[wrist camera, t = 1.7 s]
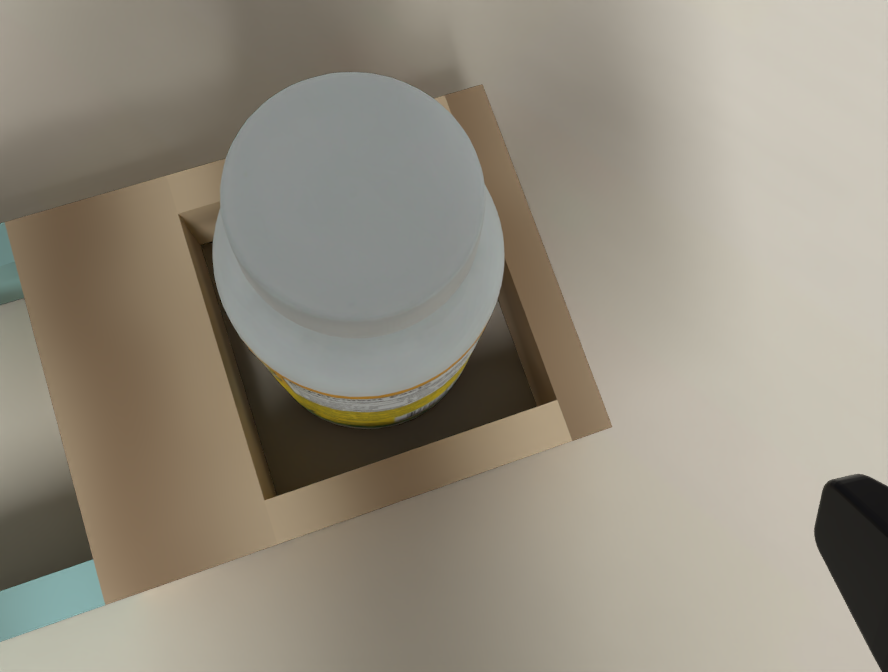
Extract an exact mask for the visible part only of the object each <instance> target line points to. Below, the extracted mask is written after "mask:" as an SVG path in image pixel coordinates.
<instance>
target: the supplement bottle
mask: <svg viewBox="0 0 888 672" xmlns="http://www.w3.org/2000/svg"><path fill="white" fill-rule="evenodd" d="M213 268H214V276H215V281H216V286H217V290H218V293H219V296H220V299H221V302H222V304H223V307H224V309H225V311H226V313H227V315H228V317H229V319H230V321H231V323H232V325H233V326H234V328H235V330H236V331H237V333H238V335H239V336H240V338H241V339H242V340H243V342H244V343H245V344H246V345H247V346H248V348H249V350H250V351H251V352H252V353H253V354H254V355H255V356H256V357H257V358H258V359H259V360H260V361H261V362H262V363H263V364H264V365H265V367H266V368H267V369H268V370H269V371H270V372H271V373H272V375H273V376H274V377H275V378H276V379H277V381H278V382H279V383H280V384H281V385H282V386H283V387H284V388H285V389H286V390H287V391H288V392H289V393H290V394H291V396H292V397H293V398H294V399H295V400H296V401H297V402H298V403H300V404H301V405H302V406H303V407H304V408H306V409H307V410H308V411H310V412H311V413H313V414H314V415H316V416H318V417H320V418H321V419H323V420H326V421H328V422H331V423H333V424H337V425H341V426H345V427H350V428H357V429H377V428H384V427H390V426H394V425H398V424H401V423H404V422H407V421H409V420H412V419H414V418H416V417H418V416H420V415H421V414H423V413H424V412H426V411H427V410H429V409H430V408H432V407H433V406H434V405H435V404H437V403H438V402H439V401H440V400H441V399H442V398H443V397H444V396H445V395H446V394H447V393H448V391H449V390H450V389H451V388H452V386H453V385H454V384H455V382H456V381H457V379H458V378H459V376H460V375H461V373H462V371H463V369H464V367H465V366H466V364H467V362H468V360H469V358H470V355H471V354H472V352H473V350H474V348H475V346H476V344H477V342H478V340H479V338H480V336H481V335H482V333H483V331H484V329H485V327H486V325H487V323H488V321H489V319H490V317H491V315H492V313H493V310H494V308H495V305H496V302H497V299H498V296H499V292H500V288H501V285H502V278H503V272H504V240H503V232H502V228H501V223H500V219H499V216H498V212H497V210H496V207H495V205H494V202H493V199H492V197H491V195H490V193H489V191H488V189H487V187H486V186H485V184H484V177H483V172H482V168H481V165H480V162H479V159H478V157H477V154H476V151H475V149H474V147H473V145H472V143H471V141H470V139H469V137H468V136H467V134H466V132H465V131H464V129H463V128H462V127H461V125H460V124H459V123H458V122H457V120H456V119H455V118H454V117H453V115H452V114H451V113H450V112H449V111H448V110H446V109H445V108H444V107H443V106H442V105H441V104H440V103H439V102H438V101H436V100H435V99H434V98H432V97H431V96H429V95H427V94H426V93H424V92H423V91H421V90H420V89H418V88H416V87H413V86H411V85H409V84H408V83H405V82H403V81H400V80H397V79H394V78H392V77H387V76H383V75H378V74H373V73H363V72H338V73H330V74H325V75H321V76H317V77H313V78H309V79H306V80H303V81H300V82H298V83H295V84H293V85H291V86H289V87H287V88H285V89H283V90H282V91H280V92H278V93H277V94H275V95H274V96H272V97H271V98H269V99H268V100H267V101H266V102H265V103H263V104H262V105H261V106H260V107H259V108H258V109H257V110H256V111H255V112H254V113H253V114H252V115H251V116H250V117H249V118H248V119H247V121H246V122H245V123H244V125H243V126H242V127H241V129H240V130H239V132H238V134H237V136H236V137H235V139H234V141H233V143H232V145H231V147H230V149H229V151H228V154H227V156H226V159H225V163H224V167H223V172H222V177H221V184H220V210H219V213H218V217H217V221H216V225H215V232H214V238H213Z"/></svg>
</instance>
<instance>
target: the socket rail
mask: <svg viewBox="0 0 888 672" xmlns="http://www.w3.org/2000/svg"><path fill="white" fill-rule="evenodd" d="M434 99H435V100H436V101H438V102H439V103H440V104H441V105H442V106H443V107H444V108H445V109H446V110H448V111H449V112H450V113H451V114H452V115H453V117H454V118H455V119H456V120H457V122H458V123H459V124H460V125H461V127H462V128H463V129H464V131H465V132H466V134H467V136H468V137H469V139H470V141H471V143H472V145H473V147H474V149H475V151H476V154H477V157H478V159H479V162H480V165H481V168H482V172H483V177H484V184H485V186H486V187H487V189H488V191H489V193H490V195H491V197H492V199H493V202H494V205H495V207H496V210H497V212H498V216H499V219H500V223H501V228H502V232H503V240H504V272H503V278H502V285H501V288H500V292H499V296H498V301H499V303H500V306H501V309H502V312H503V314H504V317H505V320H506V322H507V325H508V328H509V331H510V333H511V336H512V339H513V342H514V344H515V347H516V350H517V353H518V355H519V358H520V361H521V364H522V366H523V369H524V372H525V375H526V377H527V380H528V383H529V385H530V388H531V391H532V394H533V396H534V399H535V402H536V405H537V407H535V408H532V409H529V410H526V411H523V412H520V413H518V414H515V415H512V416H509V417H506V418H503V419H500V420H497V421H494V422H491V423H488V424H486V425H483V426H480V427H477V428H474V429H471V430H468V431H465V432H462V433H459V434H456V435H453V436H451V437H448V438H445V439H442V440H439V441H436V442H433V443H430V444H427V445H424V446H421V447H419V448H416V449H413V450H410V451H407V452H404V453H401V454H398V455H395V456H392V457H389V458H387V459H384V460H381V461H378V462H375V463H372V464H369V465H366V466H363V467H360V468H357V469H355V470H352V471H349V472H346V473H343V474H340V475H337V476H334V477H331V478H328V479H325V480H323V481H320V482H317V483H314V484H311V485H308V486H305V487H302V488H299V489H296V490H293V491H291V492H288V493H285V494H282V495H279V496H277V494H276V491H275V488H274V485H273V481H272V478H271V475H270V472H269V468H268V465H267V462H266V458H265V455H264V452H263V449H262V445H261V442H260V439H259V435H258V432H257V429H256V426H255V422H254V419H253V416H252V412H251V409H250V406H249V403H248V399H247V396H246V393H245V389H244V386H243V383H242V380H241V376H240V373H239V370H238V366H237V363H236V360H235V357H234V353H233V350H232V347H231V343H230V340H229V337H228V334H227V330H226V327H225V324H224V320H223V317H222V314H221V311H220V307H219V304H218V301H217V297H216V294H215V291H214V288H213V284H212V281H211V278H210V274H209V271H208V268H207V265H206V261H205V258H204V255H203V251H202V248H201V244H205V243H208V242H211V241H213V238H214V232H215V225H216V221H217V217H218V213H219V210H220V184H221V177H222V172H223V167H224V163H225V159H226V158H225V159H222V160H218V161H215V162H211V163H208V164H204V165H201V166H197V167H194V168H191V169H187V170H184V171H180V172H177V173H173V174H170V175H166V176H163V177H159V178H156V179H152V180H149V181H145V182H142V183H139V184H135V185H132V186H128V187H125V188H121V189H118V190H114V191H111V192H107V193H104V194H100V195H97V196H93V197H90V198H87V199H83V200H80V201H76V202H73V203H69V204H66V205H62V206H59V207H55V208H52V209H48V210H45V211H41V212H38V213H35V214H31V215H28V216H24V217H21V218H17V219H14V220H10V221H7V222H3V223H0V305H2V304H5V303H8V302H12V301H15V300H18V299H22V298H25V302H26V306H27V310H28V313H29V317H30V321H31V325H32V329H33V332H34V336H35V340H36V344H37V348H38V351H39V355H40V359H41V363H42V367H43V370H44V374H45V378H46V382H47V386H48V389H49V393H50V397H51V401H52V405H53V408H54V412H55V416H56V420H57V424H58V427H59V431H60V435H61V439H62V443H63V446H64V450H65V454H66V458H67V462H68V465H69V469H70V473H71V477H72V481H73V484H74V488H75V492H76V496H77V500H78V503H79V507H80V511H81V515H82V519H83V522H84V526H85V530H86V534H87V538H88V541H89V545H90V549H91V553H92V557H93V560H90V561H87V562H84V563H81V564H78V565H75V566H72V567H69V568H66V569H64V570H61V571H58V572H55V573H52V574H49V575H46V576H43V577H40V578H37V579H34V580H32V581H29V582H26V583H23V584H20V585H17V586H14V587H11V588H8V589H5V590H2V591H0V642H1V641H4V640H7V639H10V638H13V637H16V636H18V635H21V634H24V633H27V632H30V631H33V630H35V629H38V628H41V627H44V626H47V625H50V624H53V623H55V622H58V621H61V620H64V619H67V618H70V617H72V616H75V615H78V614H81V613H84V612H87V611H90V610H92V609H95V608H98V607H101V606H104V605H107V604H109V603H112V602H115V601H118V600H121V599H124V598H127V597H129V596H132V595H135V594H138V593H141V592H144V591H147V590H149V589H152V588H155V587H158V586H161V585H164V584H166V583H169V582H172V581H175V580H178V579H181V578H184V577H186V576H189V575H192V574H195V573H198V572H201V571H203V570H206V569H209V568H212V567H215V566H218V565H221V564H223V563H226V562H229V561H232V560H235V559H238V558H240V557H243V556H246V555H249V554H252V553H255V552H258V551H260V550H263V549H266V548H269V547H272V546H275V545H277V544H280V543H283V542H286V541H289V540H292V539H295V538H297V537H300V536H303V535H306V534H309V533H312V532H314V531H317V530H320V529H323V528H326V527H329V526H332V525H334V524H337V523H340V522H343V521H346V520H349V519H351V518H354V517H357V516H360V515H363V514H366V513H369V512H371V511H374V510H377V509H380V508H383V507H386V506H389V505H391V504H394V503H397V502H400V501H403V500H406V499H408V498H411V497H414V496H417V495H420V494H423V493H426V492H428V491H431V490H434V489H437V488H440V487H443V486H445V485H448V484H451V483H454V482H457V481H460V480H463V479H465V478H468V477H471V476H474V475H477V474H480V473H482V472H485V471H488V470H491V469H494V468H497V467H500V466H502V465H505V464H508V463H511V462H514V461H517V460H519V459H522V458H525V457H528V456H531V455H534V454H537V453H539V452H542V451H545V450H548V449H551V448H554V447H556V446H559V445H562V444H565V443H568V442H571V441H574V440H576V439H579V438H582V437H585V436H588V435H591V434H593V433H596V432H599V431H602V430H605V429H608V428H611V427H612V425H611V422H610V419H609V417H608V414H607V411H606V409H605V406H604V404H603V401H602V398H601V396H600V393H599V390H598V388H597V385H596V382H595V380H594V377H593V375H592V372H591V369H590V367H589V364H588V361H587V359H586V356H585V353H584V351H583V348H582V346H581V343H580V340H579V338H578V335H577V332H576V330H575V327H574V324H573V322H572V319H571V317H570V314H569V311H568V309H567V306H566V303H565V301H564V298H563V295H562V293H561V290H560V288H559V285H558V282H557V280H556V277H555V274H554V272H553V269H552V267H551V264H550V261H549V259H548V256H547V253H546V251H545V248H544V245H543V243H542V240H541V238H540V235H539V232H538V230H537V227H536V224H535V222H534V219H533V216H532V214H531V211H530V209H529V206H528V203H527V201H526V198H525V195H524V193H523V190H522V187H521V185H520V182H519V180H518V177H517V174H516V172H515V169H514V166H513V164H512V161H511V158H510V156H509V153H508V151H507V148H506V145H505V143H504V140H503V137H502V135H501V132H500V129H499V127H498V124H497V122H496V119H495V116H494V114H493V111H492V108H491V106H490V103H489V100H488V98H487V95H486V93H485V90H484V87H483V85H478V86H475V87H471V88H468V89H464V90H461V91H457V92H454V93H450V94H447V95H444V96H440V97H437V98H434Z"/></svg>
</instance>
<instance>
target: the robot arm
mask: <svg viewBox="0 0 888 672" xmlns="http://www.w3.org/2000/svg"><path fill="white" fill-rule="evenodd" d="M814 535H815V541H816V544H817V547H818V549H819V552H820V554H821V556H822V557H823V559H824V561H825V563H826V565H827V567H828V569H829V571H830V573H831V575H832V577H833V579H834V581H835V583H836V585H837V587H838V589H839V591H840V593H841V594H842V596H843V598H844V600H845V602H846V604H847V606H848V608H849V610H850V612H851V614H852V616H853V618H854V620H855V622H856V624H857V626H858V628H859V629H860V631H861V633H862V635H863V637H864V639H865V641H866V643H867V645H868V647H869V649H870V651H871V653H872V655H873V656H874V658H875V660H876V662H877V664H878V665H879V667H880V669H881V671H882V672H888V486H886V485H884V484H883V483H881V482H879V481H877V480H875V479H873V478H871V477H869V476H866V475H863V474H854V475H850V476H845V477H841V478H837V479H833V480H830V481H828V482H827V483H826V484H825V486H824V488H823V491H822V495H821V500H820V504H819V509H818V513H817V518H816V522H815V528H814Z"/></svg>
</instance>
